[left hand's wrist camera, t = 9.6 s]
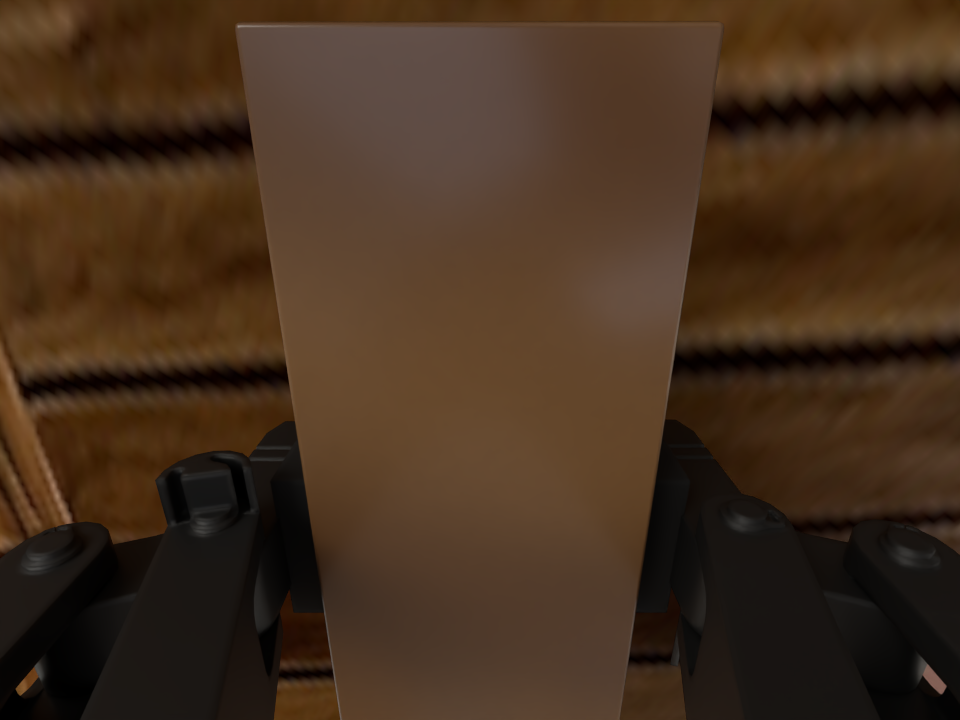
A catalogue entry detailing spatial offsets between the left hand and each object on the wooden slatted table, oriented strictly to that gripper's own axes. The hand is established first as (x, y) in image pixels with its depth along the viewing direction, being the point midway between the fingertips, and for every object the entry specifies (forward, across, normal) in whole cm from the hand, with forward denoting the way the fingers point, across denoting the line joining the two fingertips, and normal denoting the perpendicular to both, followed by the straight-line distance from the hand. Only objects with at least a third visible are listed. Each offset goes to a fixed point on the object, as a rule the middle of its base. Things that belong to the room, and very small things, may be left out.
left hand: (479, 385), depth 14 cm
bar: (+1, 0, -27) cm, 27 cm away
